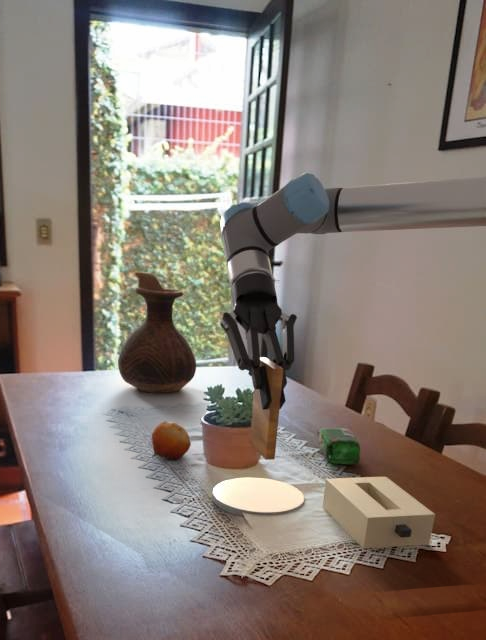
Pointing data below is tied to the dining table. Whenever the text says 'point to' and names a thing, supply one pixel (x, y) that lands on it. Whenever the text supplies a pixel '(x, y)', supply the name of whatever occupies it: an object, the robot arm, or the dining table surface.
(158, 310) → the jug
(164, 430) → the fruit
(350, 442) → the snack package
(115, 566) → the dining table surface
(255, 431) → the toast
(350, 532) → the toaster
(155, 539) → the dining table surface
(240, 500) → the plate
